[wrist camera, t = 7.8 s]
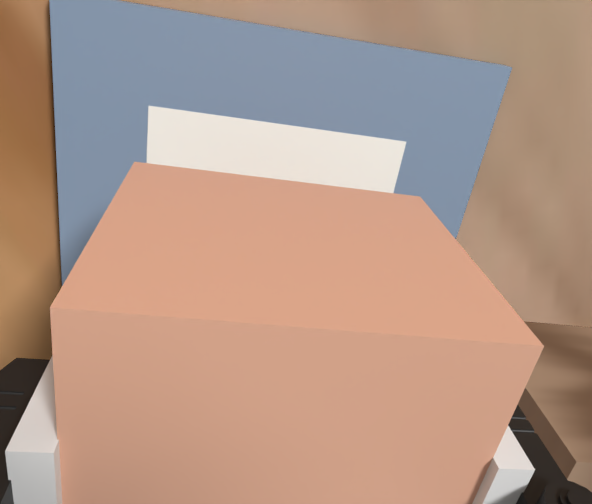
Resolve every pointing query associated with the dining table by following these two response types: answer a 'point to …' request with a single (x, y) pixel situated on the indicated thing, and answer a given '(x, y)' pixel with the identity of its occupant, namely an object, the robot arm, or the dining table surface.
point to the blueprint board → (256, 109)
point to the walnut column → (563, 398)
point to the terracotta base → (278, 348)
